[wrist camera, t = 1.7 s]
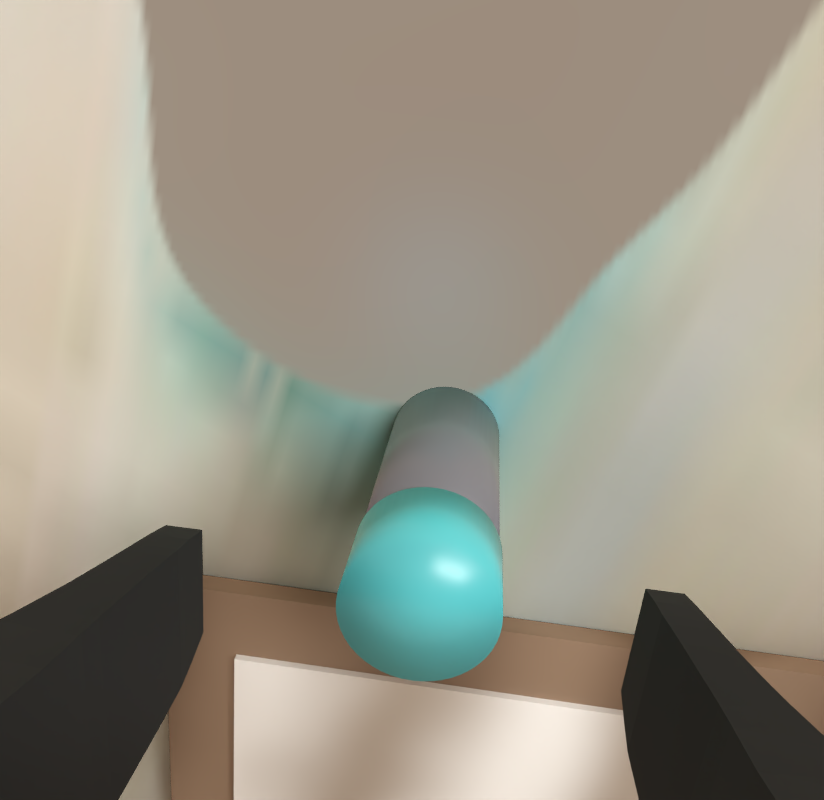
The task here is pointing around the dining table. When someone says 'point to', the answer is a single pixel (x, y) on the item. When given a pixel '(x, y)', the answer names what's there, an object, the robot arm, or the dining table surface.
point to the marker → (429, 544)
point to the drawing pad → (408, 710)
